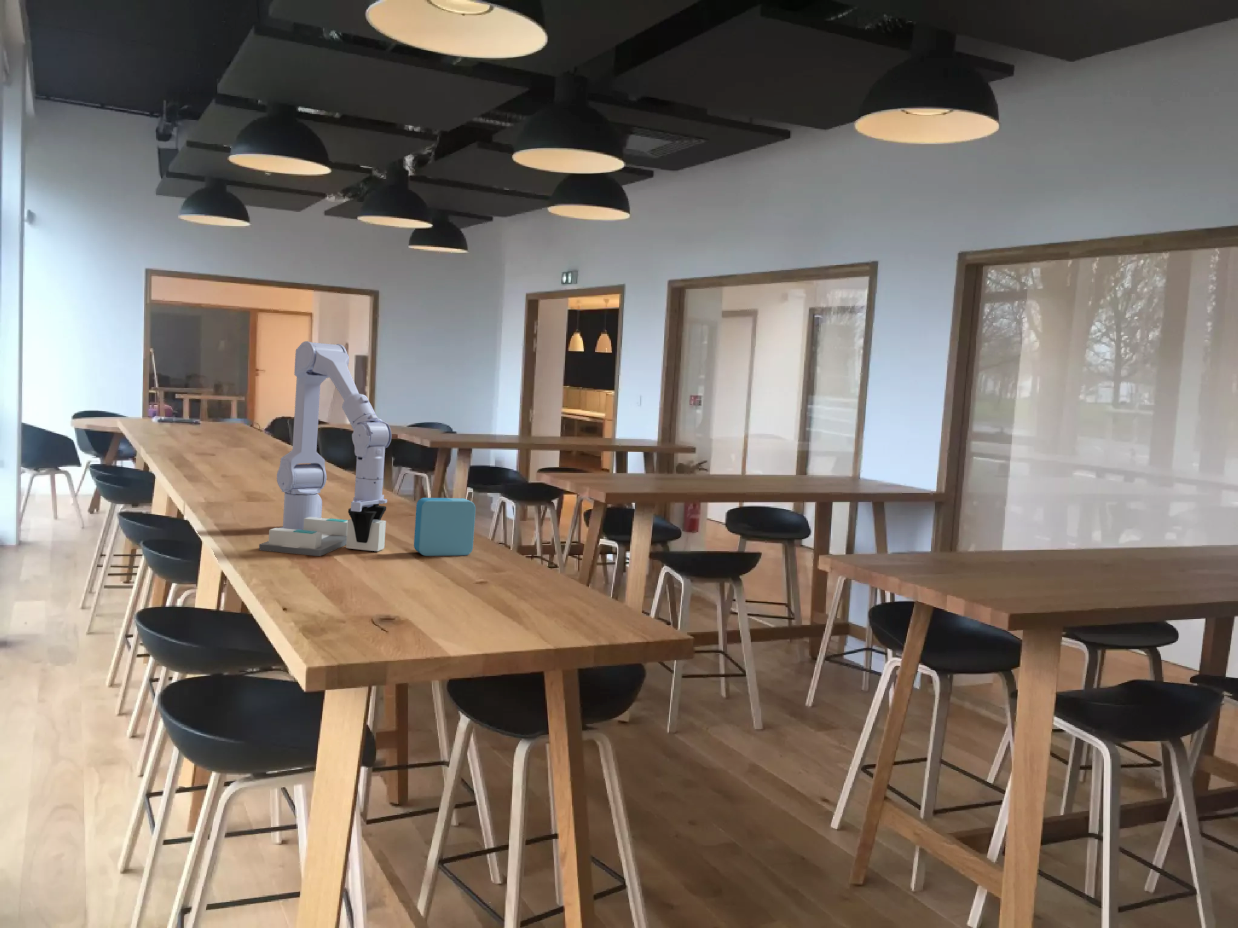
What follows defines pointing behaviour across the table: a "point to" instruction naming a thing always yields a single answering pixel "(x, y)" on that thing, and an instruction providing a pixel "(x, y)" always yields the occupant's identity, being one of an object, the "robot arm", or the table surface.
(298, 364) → the robot arm
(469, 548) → the data package
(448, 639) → the table surface
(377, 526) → the block
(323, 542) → the rail board
